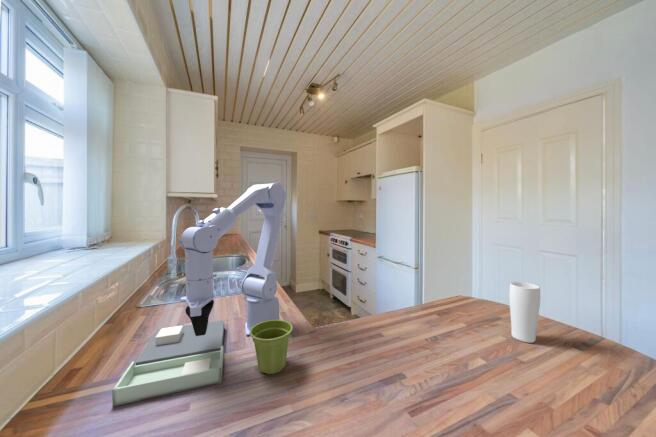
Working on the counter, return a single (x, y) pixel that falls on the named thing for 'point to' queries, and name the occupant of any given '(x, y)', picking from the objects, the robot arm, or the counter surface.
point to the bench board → (185, 344)
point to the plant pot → (271, 344)
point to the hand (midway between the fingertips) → (200, 334)
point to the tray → (165, 378)
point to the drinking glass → (524, 310)
